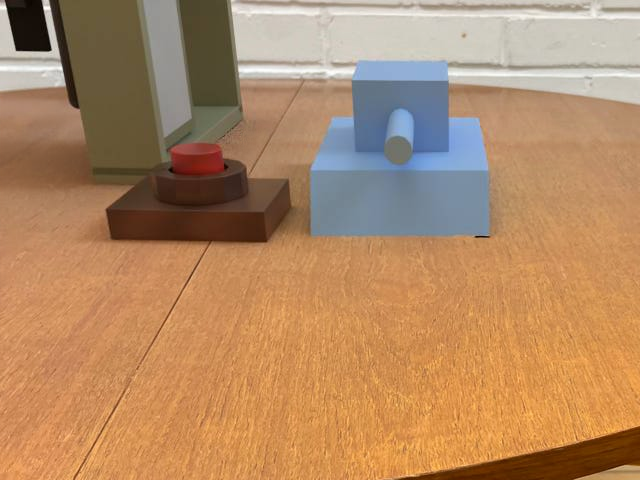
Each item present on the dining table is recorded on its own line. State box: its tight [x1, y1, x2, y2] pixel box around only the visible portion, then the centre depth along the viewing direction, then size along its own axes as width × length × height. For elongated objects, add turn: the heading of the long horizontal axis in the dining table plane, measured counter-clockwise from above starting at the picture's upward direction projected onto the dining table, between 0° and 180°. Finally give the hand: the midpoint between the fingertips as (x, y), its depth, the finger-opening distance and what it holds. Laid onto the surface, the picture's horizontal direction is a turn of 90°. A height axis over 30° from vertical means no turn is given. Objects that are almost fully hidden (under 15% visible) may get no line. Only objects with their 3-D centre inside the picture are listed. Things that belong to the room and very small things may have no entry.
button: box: [170, 143, 225, 175], centre depth 69 cm, size 4×4×2 cm
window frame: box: [59, 0, 244, 186], centre depth 87 cm, size 6×28×18 cm, turn 179°
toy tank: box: [309, 60, 491, 237], centre depth 76 cm, size 22×9×13 cm
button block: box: [105, 157, 292, 243], centre depth 70 cm, size 11×9×4 cm
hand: (66, 40), depth 85 cm, fingers open, 13 cm apart
